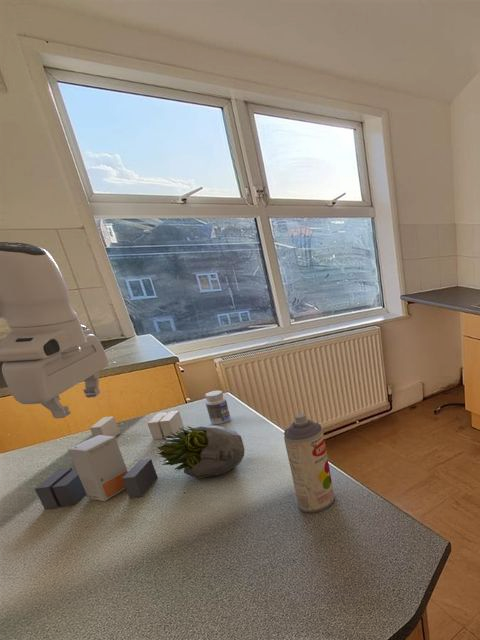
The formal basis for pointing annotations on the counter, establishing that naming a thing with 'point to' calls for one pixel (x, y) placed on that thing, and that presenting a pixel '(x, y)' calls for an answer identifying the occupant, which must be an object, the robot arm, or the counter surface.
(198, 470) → the potted plant
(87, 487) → the cosmetic box
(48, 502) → the dark grey blocks
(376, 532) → the counter surface
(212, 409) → the pill bottle
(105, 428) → the white blocks
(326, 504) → the aerosol can
